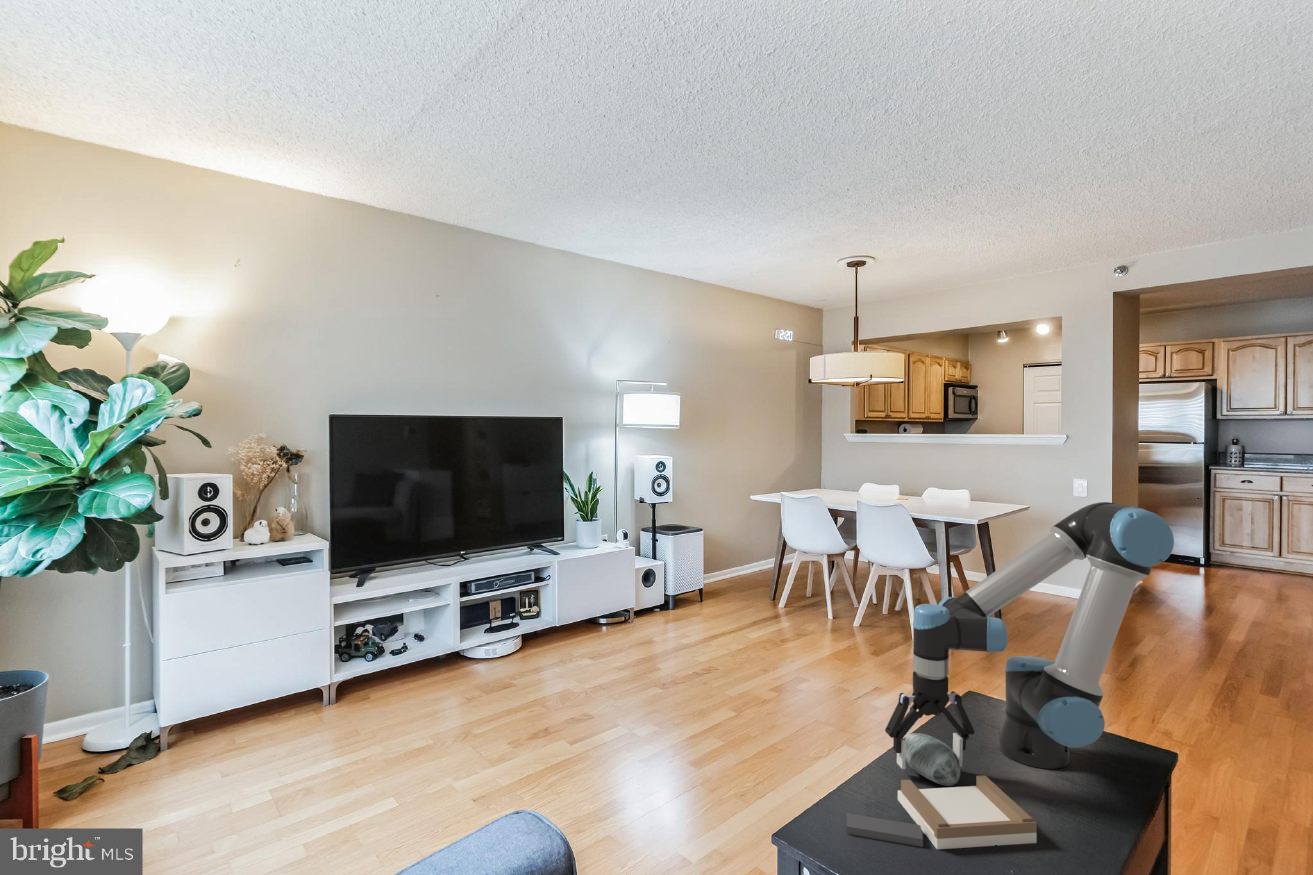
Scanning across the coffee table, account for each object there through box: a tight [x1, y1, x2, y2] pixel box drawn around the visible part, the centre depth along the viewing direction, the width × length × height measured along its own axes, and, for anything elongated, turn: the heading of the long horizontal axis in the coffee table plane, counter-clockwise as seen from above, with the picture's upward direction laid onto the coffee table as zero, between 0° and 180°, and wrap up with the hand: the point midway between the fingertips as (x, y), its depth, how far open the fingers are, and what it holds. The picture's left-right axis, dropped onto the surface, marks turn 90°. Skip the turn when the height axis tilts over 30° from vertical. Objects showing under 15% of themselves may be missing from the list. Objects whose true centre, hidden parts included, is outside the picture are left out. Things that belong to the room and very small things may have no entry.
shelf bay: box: [897, 775, 1038, 850], centre depth 127 cm, size 20×16×4 cm
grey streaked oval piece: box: [904, 732, 961, 787], centre depth 144 cm, size 14×10×10 cm
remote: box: [846, 813, 924, 848], centre depth 123 cm, size 4×14×2 cm, turn 73°
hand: (929, 764), depth 144 cm, fingers open, 13 cm apart
